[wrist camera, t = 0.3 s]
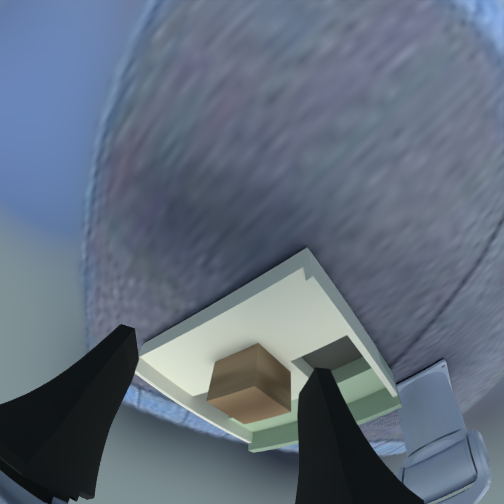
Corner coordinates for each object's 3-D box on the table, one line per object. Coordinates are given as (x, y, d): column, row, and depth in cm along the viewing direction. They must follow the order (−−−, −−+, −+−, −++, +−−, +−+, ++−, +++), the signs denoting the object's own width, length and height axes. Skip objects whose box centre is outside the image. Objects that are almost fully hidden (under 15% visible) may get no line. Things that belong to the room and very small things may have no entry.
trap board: (392, 372, 24) (402, 406, 20) (256, 422, 30) (253, 452, 26) (307, 247, 18) (315, 286, 14) (143, 343, 24) (127, 378, 20)
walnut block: (290, 371, 21) (291, 411, 18) (248, 387, 23) (244, 424, 19) (258, 342, 20) (254, 386, 16) (214, 361, 21) (205, 401, 18)
